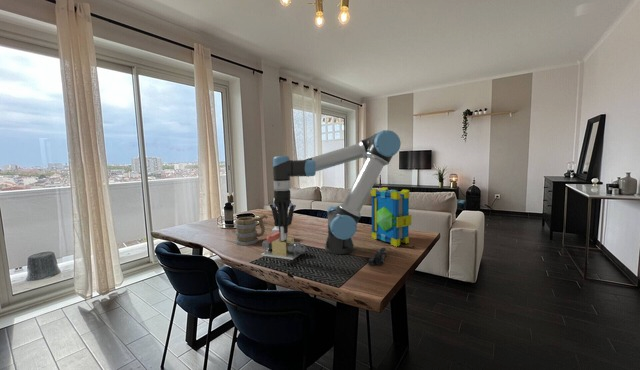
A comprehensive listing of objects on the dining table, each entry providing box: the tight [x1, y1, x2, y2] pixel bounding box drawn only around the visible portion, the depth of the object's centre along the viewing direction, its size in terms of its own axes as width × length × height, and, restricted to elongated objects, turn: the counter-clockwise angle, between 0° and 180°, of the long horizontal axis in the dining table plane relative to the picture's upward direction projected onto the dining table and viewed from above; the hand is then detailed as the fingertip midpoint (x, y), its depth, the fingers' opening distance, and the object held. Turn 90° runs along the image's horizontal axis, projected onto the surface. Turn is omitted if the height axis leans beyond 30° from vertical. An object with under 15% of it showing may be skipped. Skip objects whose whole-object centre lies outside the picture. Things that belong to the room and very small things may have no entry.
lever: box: [266, 231, 288, 243], centre depth 132 cm, size 15×4×4 cm, turn 157°
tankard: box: [234, 214, 269, 246], centre depth 161 cm, size 20×13×15 cm, turn 119°
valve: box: [260, 237, 307, 261], centre depth 138 cm, size 23×13×7 cm, turn 67°
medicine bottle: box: [271, 221, 279, 234], centre depth 163 cm, size 7×7×12 cm
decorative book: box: [370, 186, 412, 248], centre depth 153 cm, size 14×23×30 cm, turn 30°
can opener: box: [368, 247, 387, 266], centre depth 126 cm, size 18×7×6 cm, turn 152°
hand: (283, 239), depth 127 cm, fingers closed
